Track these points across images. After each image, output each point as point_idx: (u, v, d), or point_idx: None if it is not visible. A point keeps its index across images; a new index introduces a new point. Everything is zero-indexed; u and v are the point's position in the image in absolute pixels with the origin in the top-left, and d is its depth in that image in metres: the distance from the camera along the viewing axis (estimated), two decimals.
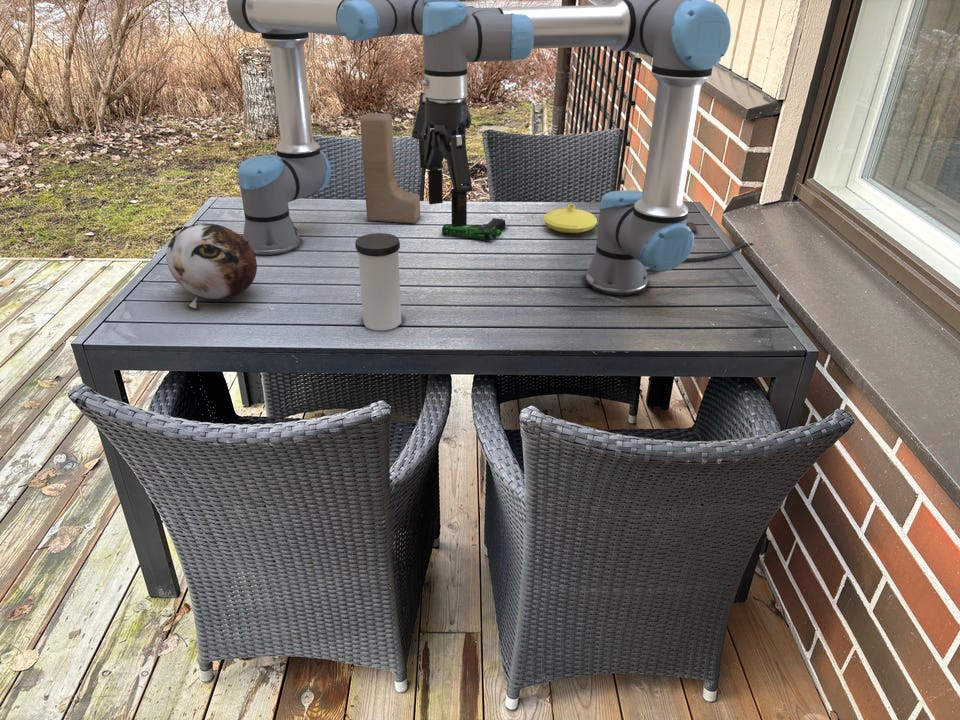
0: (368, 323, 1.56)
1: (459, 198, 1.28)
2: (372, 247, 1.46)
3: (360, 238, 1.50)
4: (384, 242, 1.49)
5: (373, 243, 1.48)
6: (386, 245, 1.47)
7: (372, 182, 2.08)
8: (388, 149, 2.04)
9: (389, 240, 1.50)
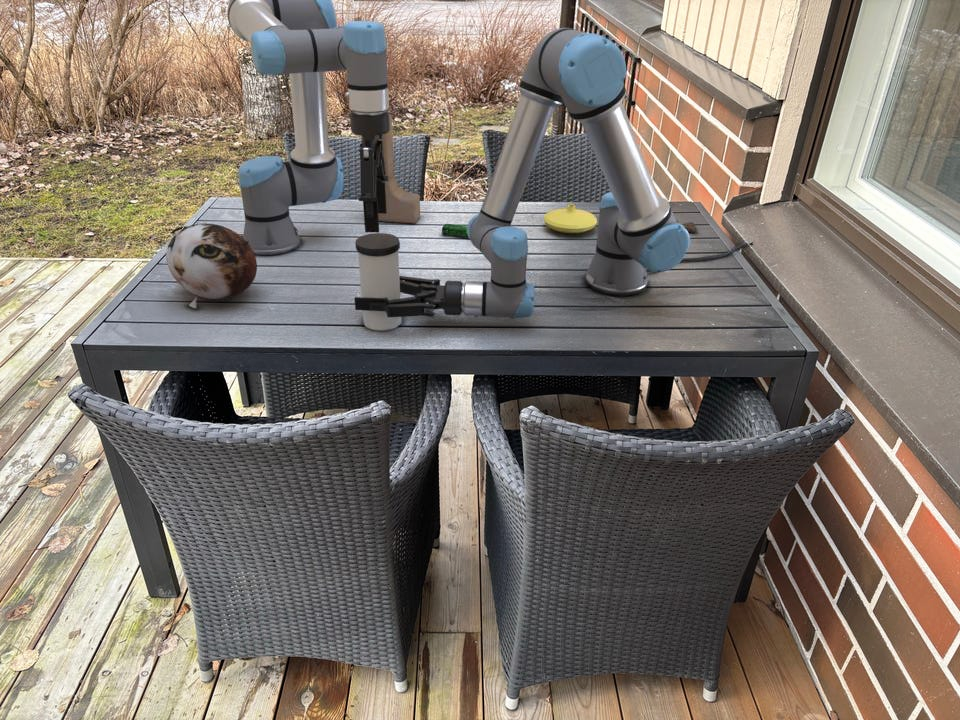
0: (368, 323, 1.56)
1: None
2: (372, 247, 1.46)
3: (360, 238, 1.50)
4: (384, 242, 1.49)
5: (373, 243, 1.48)
6: (386, 245, 1.47)
7: None
8: (388, 149, 2.04)
9: (389, 240, 1.50)
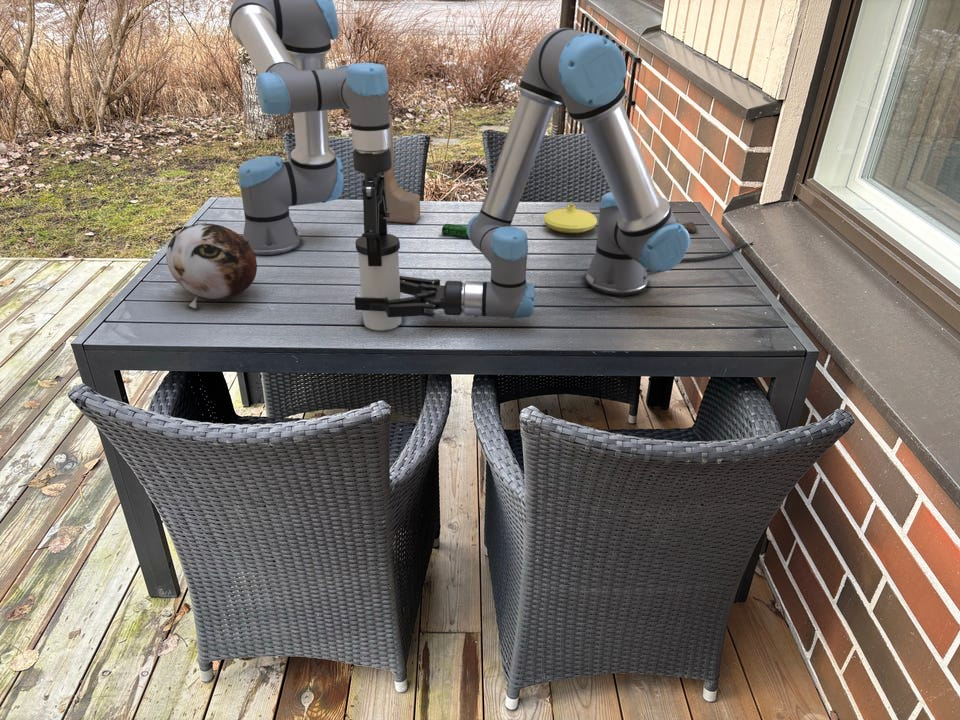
0: (369, 323, 1.56)
1: None
2: None
3: (360, 238, 1.51)
4: (384, 242, 1.49)
5: None
6: (386, 245, 1.47)
7: None
8: None
9: (389, 240, 1.50)
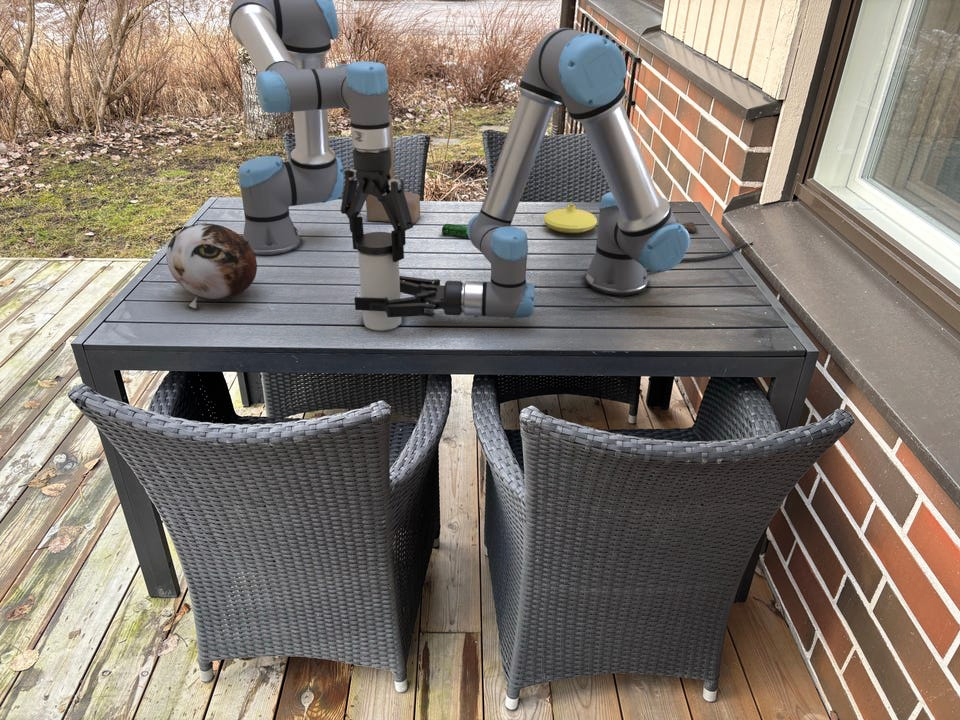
0: (369, 323, 1.56)
1: None
2: None
3: (375, 246, 1.46)
4: (380, 236, 1.51)
5: (385, 239, 1.49)
6: (387, 234, 1.52)
7: None
8: None
9: (373, 235, 1.51)
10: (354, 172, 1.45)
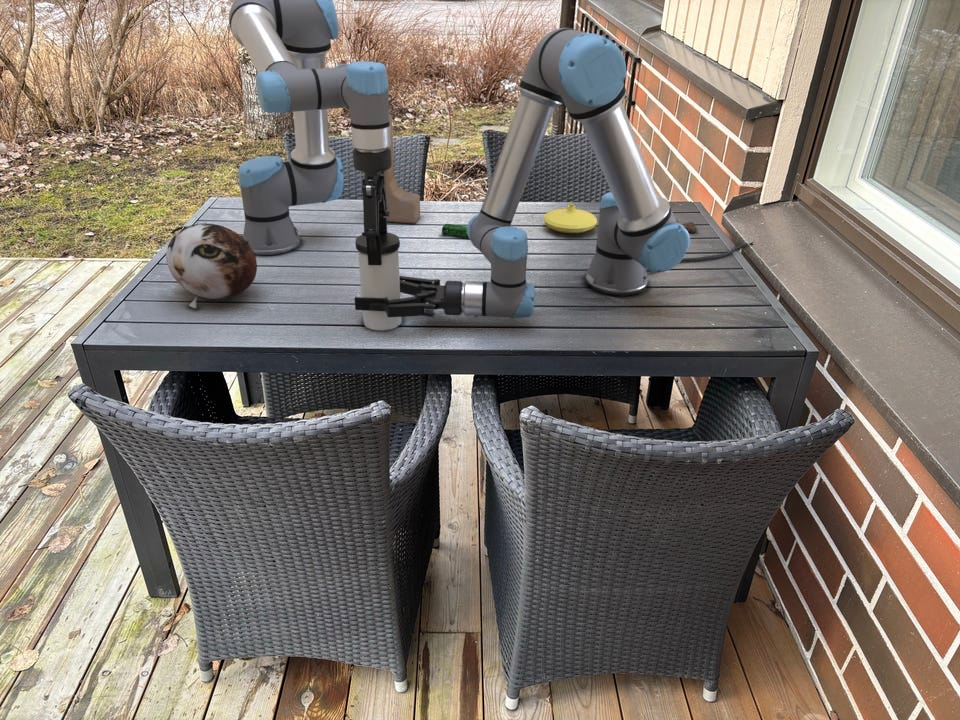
0: (369, 323, 1.56)
1: None
2: (395, 238, 1.50)
3: None
4: (380, 236, 1.51)
5: (385, 239, 1.49)
6: (387, 234, 1.52)
7: None
8: None
9: None
10: None
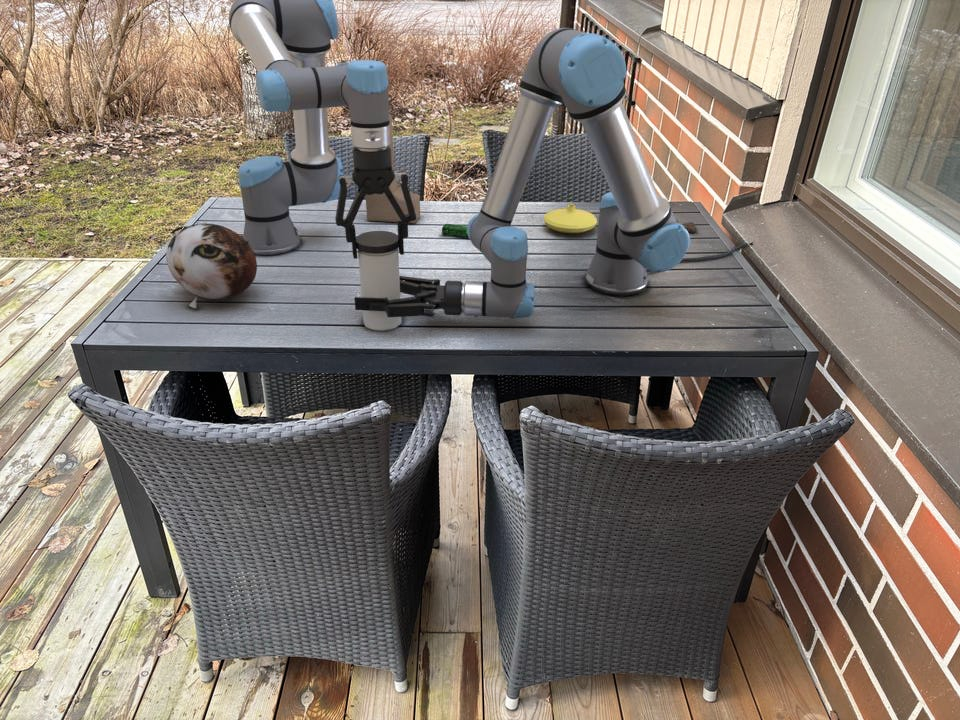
0: (369, 323, 1.56)
1: None
2: (371, 232, 1.52)
3: (395, 236, 1.50)
4: (368, 238, 1.49)
5: (376, 235, 1.51)
6: (362, 236, 1.50)
7: None
8: None
9: (367, 241, 1.48)
10: (349, 177, 1.41)
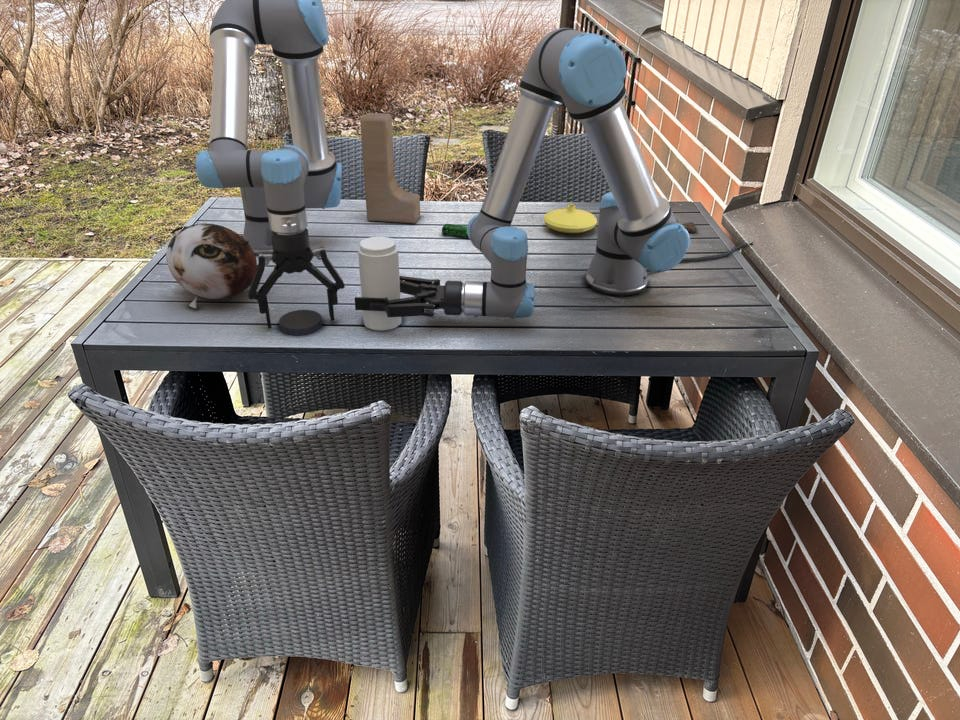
0: (369, 323, 1.56)
1: None
2: (295, 312, 1.59)
3: (318, 316, 1.57)
4: (292, 319, 1.56)
5: (300, 315, 1.58)
6: (286, 317, 1.57)
7: (372, 182, 2.08)
8: (388, 149, 2.04)
9: (290, 322, 1.55)
10: (269, 256, 1.47)
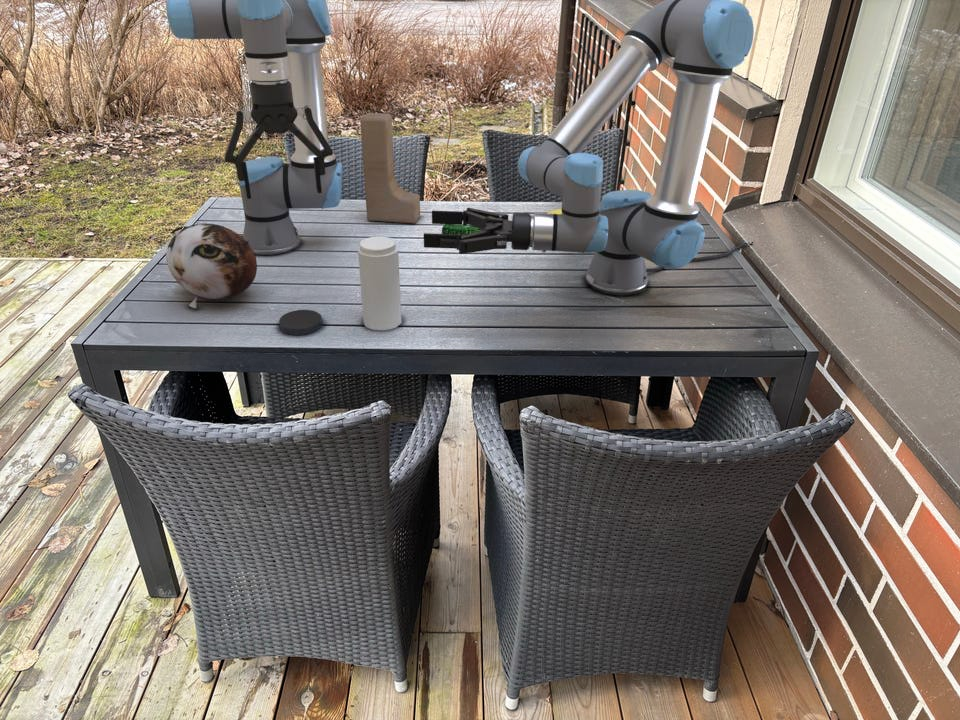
0: (369, 323, 1.56)
1: None
2: (295, 312, 1.59)
3: (318, 316, 1.57)
4: (292, 319, 1.56)
5: (300, 315, 1.58)
6: (286, 317, 1.57)
7: (372, 182, 2.08)
8: (388, 149, 2.04)
9: (290, 322, 1.55)
10: (247, 112, 1.32)
